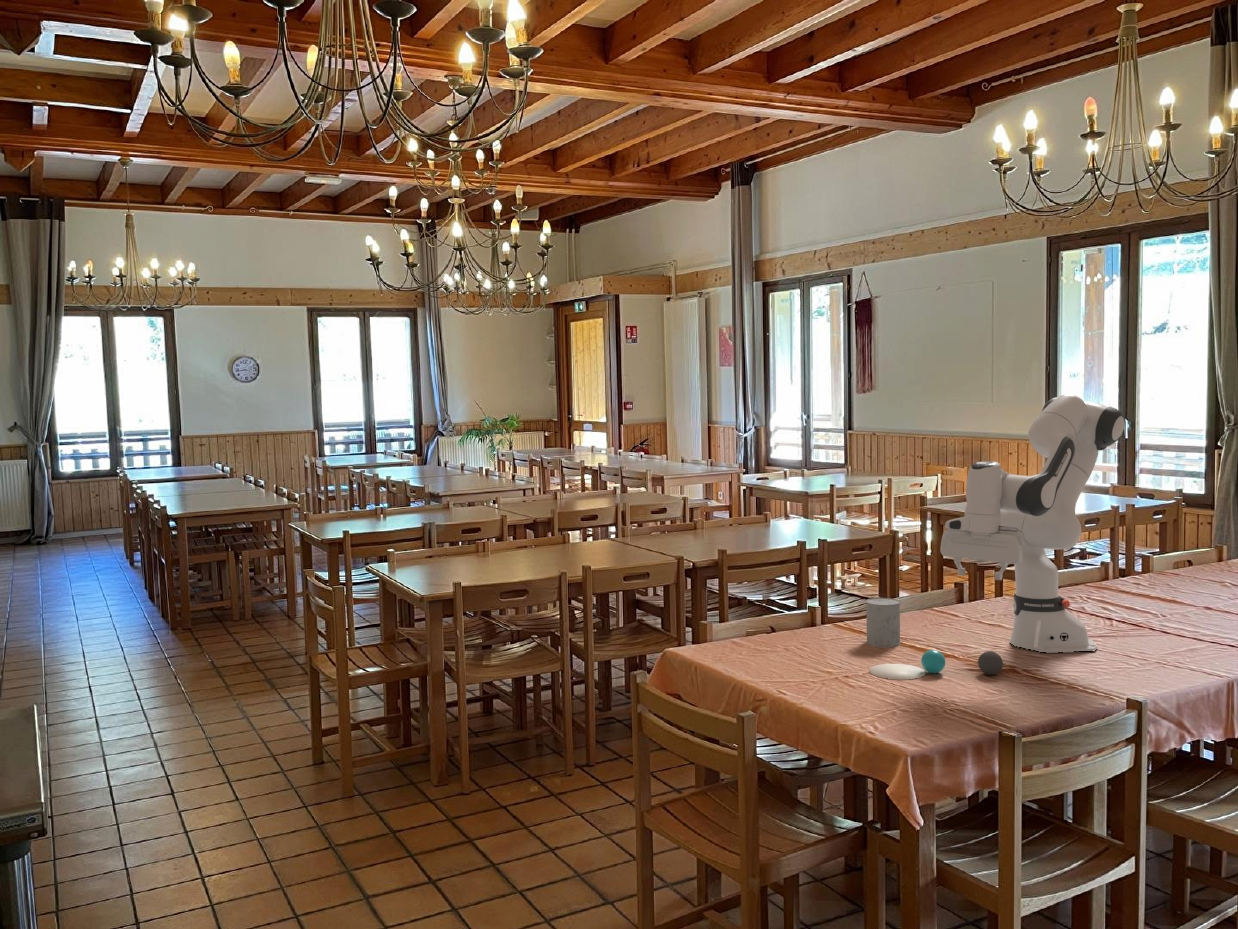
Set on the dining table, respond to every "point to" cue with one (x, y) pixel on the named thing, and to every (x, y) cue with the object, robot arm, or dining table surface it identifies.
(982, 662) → the dark grey ball
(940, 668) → the object ball
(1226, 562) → the dining table surface
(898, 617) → the grey speckled stone cylinder
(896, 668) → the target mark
